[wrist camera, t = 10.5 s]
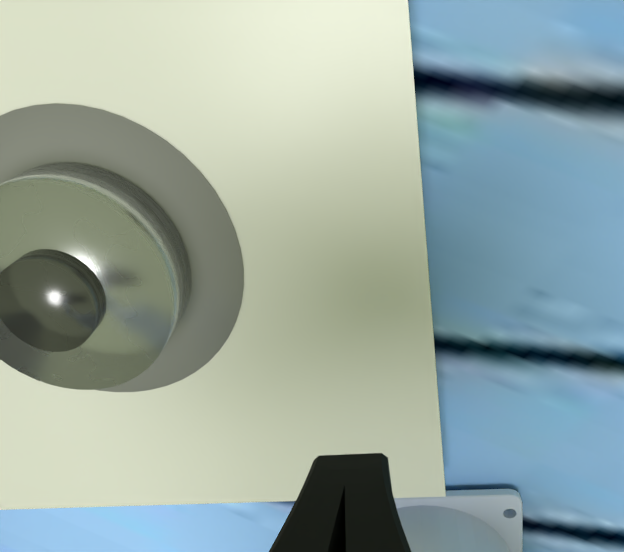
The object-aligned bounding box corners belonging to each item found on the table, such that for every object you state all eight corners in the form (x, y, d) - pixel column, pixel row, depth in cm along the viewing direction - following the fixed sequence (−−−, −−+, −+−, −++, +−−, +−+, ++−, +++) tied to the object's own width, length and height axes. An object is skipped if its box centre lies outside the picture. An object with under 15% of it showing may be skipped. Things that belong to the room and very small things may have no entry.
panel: (442, 467, 24) (446, 500, 22) (-40, 485, 27) (-64, 515, 26) (389, -208, 14) (390, -231, 13) (-331, -47, 18) (-397, -50, 16)
